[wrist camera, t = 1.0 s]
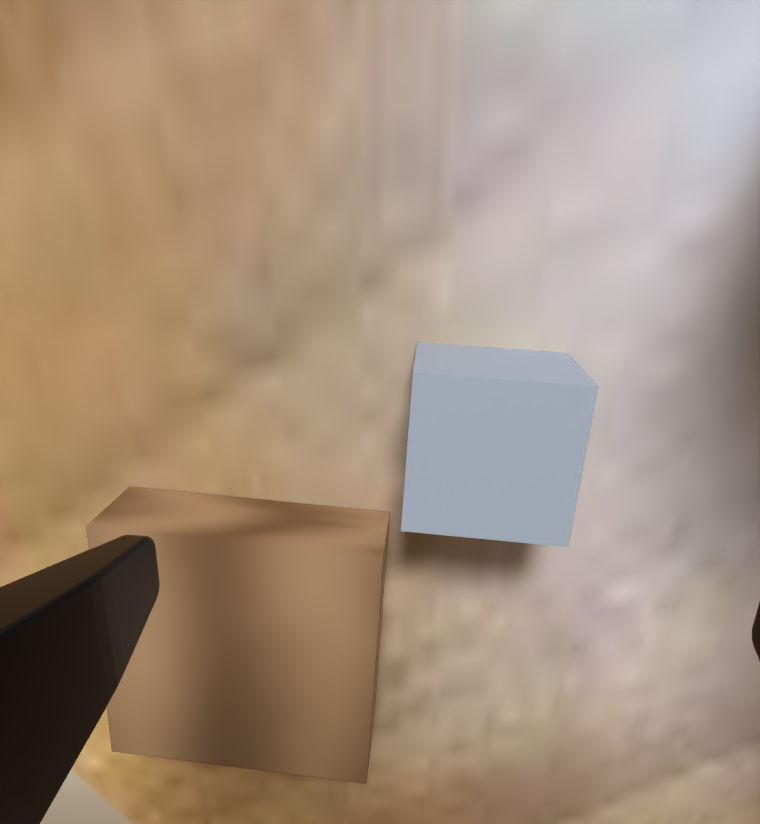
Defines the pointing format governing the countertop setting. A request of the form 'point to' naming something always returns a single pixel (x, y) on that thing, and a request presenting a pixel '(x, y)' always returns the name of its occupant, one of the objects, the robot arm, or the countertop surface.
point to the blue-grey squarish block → (496, 443)
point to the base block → (253, 633)
